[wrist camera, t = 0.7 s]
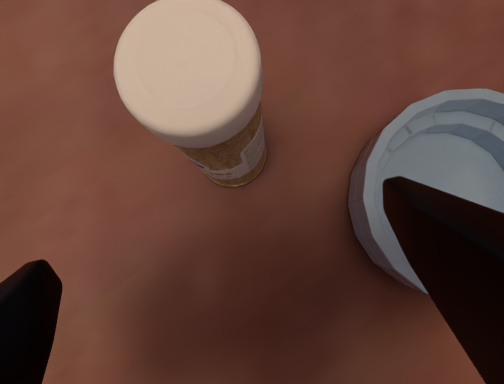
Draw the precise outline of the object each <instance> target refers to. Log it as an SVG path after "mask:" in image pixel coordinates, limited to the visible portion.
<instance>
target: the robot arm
mask: <svg viewBox="0 0 504 384" xmlns="http://www.w3.org/2000/svg"><path fill="white" fill-rule="evenodd" d="M383 209H384V212H385V215H386V217H387V219H388V221H389V223H390V225H391V228H392V230H393V232H394V234H395V236H396V238H397V240H398V242H399V244H400V246H401V248H402V251H403V253H404V255H405V257H406V259H407V261H408V262H409V264H410V266H411V267H412V269H413V271H414V272H415V274H416V275H417V277H418V278H419V280H420V282H421V283H422V285H423V286H424V288H425V289H426V291H427V293H428V294H429V296H430V297H431V299H432V300H433V302H434V303H435V305H436V307H437V308H438V310H439V311H440V313H441V314H442V316H443V318H444V319H445V321H446V322H447V324H448V325H449V327H450V328H451V330H452V332H453V333H454V335H455V336H456V338H457V339H458V341H459V343H460V344H461V346H462V347H463V349H464V350H465V352H466V353H467V355H468V357H469V358H470V360H471V361H472V363H473V364H474V366H475V368H476V369H477V371H478V372H479V374H480V375H481V377H482V378H483V380H484V382H485V383H486V384H504V213H502V212H500V211H497V210H494V209H491V208H489V207H486V206H483V205H480V204H477V203H475V202H472V201H469V200H466V199H463V198H461V197H458V196H455V195H452V194H450V193H447V192H444V191H441V190H438V189H436V188H433V187H430V186H427V185H425V184H422V183H419V182H416V181H413V180H411V179H408V178H405V177H402V176H395V177H391V178H387V179H385V180H384V181H383ZM61 295H62V282H61V280H60V278H59V277H58V276H57V274H56V273H55V271H54V270H53V269H52V267H51V266H50V265H49V263H48V262H47V261H45V260H37V261H32V262H28V263H26V264H25V265H24V266H22V267H21V268H20V269H18V270H17V271H16V272H14V273H13V274H12V275H11V276H9V277H8V278H7V279H5V280H4V281H3V282H1V283H0V384H42V381H43V377H44V374H45V370H46V367H47V363H48V360H49V356H50V353H51V349H52V345H53V340H54V335H55V330H56V324H57V318H58V312H59V306H60V301H61Z"/></svg>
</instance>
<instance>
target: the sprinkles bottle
mask: <svg viewBox="0 0 504 384" xmlns="http://www.w3.org/2000/svg"><path fill="white" fill-rule="evenodd" d="M114 78H115V82H116V86H117V89H118V92H119V95H120V97H121V99H122V101H123V103H124V104H125V106H126V108H127V109H128V110H129V112H130V113H131V114H132V115H133V116H134V117H135V118H136V119H137V120H138V121H139V122H140V123H141V124H142V125H143V126H145V127H146V128H147V129H148V130H149V131H150V132H152V133H153V134H154V135H156V136H157V137H159V138H160V139H162V140H164V141H166V142H168V143H171V144H173V145H175V146H177V148H178V149H179V150H180V151H181V152H182V153H183V154H184V155H185V156H186V157H187V158H189V159H190V160H191V161H192V162H193V163H194V164H195V165H196V166H197V167H198V168H199V169H200V170H202V171H203V172H204V173H205V175H206V176H207V177H208V178H209V179H211V180H212V181H213V182H214V183H217V184H219V185H222V186H226V187H238V186H242V185H245V184H247V183H249V182H250V181H252V180H253V179H255V178H256V177H257V176H258V174H259V173H260V172H261V171H262V169H263V166H264V164H265V161H266V155H267V153H266V145H265V140H264V126H263V117H262V106H261V101H260V99H261V95H262V90H263V74H262V64H261V56H260V50H259V46H258V42H257V39H256V37H255V34H254V32H253V31H252V29H251V27H250V25H249V24H248V22H247V21H246V20H245V19H244V17H243V16H242V15H241V14H240V13H238V12H237V11H236V10H235V9H234V8H233V7H231V6H230V5H229V4H227V3H225V2H223V1H221V0H158V1H156V2H154V3H152V4H150V5H148V6H147V7H146V8H144V9H143V10H142V11H141V12H139V13H138V14H137V15H136V16H135V17H134V18H133V19H132V20H131V22H130V23H129V24H128V25H127V27H126V28H125V30H124V32H123V33H122V35H121V38H120V40H119V42H118V45H117V48H116V52H115V58H114Z"/></svg>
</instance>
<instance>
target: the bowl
mask: <svg viewBox="0 0 504 384" xmlns="http://www.w3.org/2000/svg"><path fill="white" fill-rule="evenodd" d="M395 176H402V177H405V178H408V179H411V180H413V181H416V182H419V183H422V184H425V185H427V186H430V187H433V188H436V189H438V190H441V191H444V192H447V193H450V194H452V195H455V196H458V197H461V198H463V199H466V200H469V201H472V202H475V203H477V204H480V205H483V206H486V207H489V208H491V209H494V210H497V211H500V212H502V213H504V93H500V92H496V91H493V90H489V89H486V88H484V89H483V88H477V89H458V90H446V91H442V92H439V93H437V94H435V95H432V96H430V97H427V98H425V99H422V100H420V101H417V102H415V103H413V104H411V105H409V106H408V107H407V108H406V109H405V110H404V111H403V112H401V113H400V114H399V115H398V116H397V117H396V118H395V119H394V120H393V121H391V122H390V123H389V124H388V125H387V126H386V127H385V128H384V129H383V130H382V131H381V132H379V133H378V134H377V135H376V136H375V137H374V138H373V139H372V140H371V141H370V142H369V143H368V144H367V145H366V146H365V147H364V149H363V151H362V153H361V155H360V157H359V159H358V161H357V163H356V165H355V167H354V169H353V170H352V174H351V180H350V188H349V197H348V208H349V212H350V216H351V220H352V224H353V228H354V232H355V235H356V237H357V239H358V240H359V242H360V243H361V245H362V246H363V248H364V249H365V251H366V252H367V254H368V255H369V257H370V258H371V260H372V261H373V262H374V263H375V264H376V265H377V266H378V267H380V268H381V269H382V270H384V271H385V272H386V273H388V274H389V275H390V276H392V277H393V278H394V279H395V280H397V281H398V282H400V283H401V284H404V285H406V286H409V287H411V288H414V289H416V290H418V291H421V292H423V293H426V294H428V293H427V291H426V289H425V288H424V286H423V285H422V283H421V282H420V280H419V278H418V277H417V275H416V274H415V272H414V271H413V269H412V267H411V266H410V264H409V262H408V261H407V259H406V257H405V255H404V253H403V251H402V248H401V246H400V244H399V242H398V240H397V238H396V236H395V234H394V232H393V230H392V228H391V225H390V223H389V221H388V219H387V217H386V215H385V212H384V209H383V181H384V180H385V179H387V178H391V177H395ZM428 295H429V294H428Z"/></svg>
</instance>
